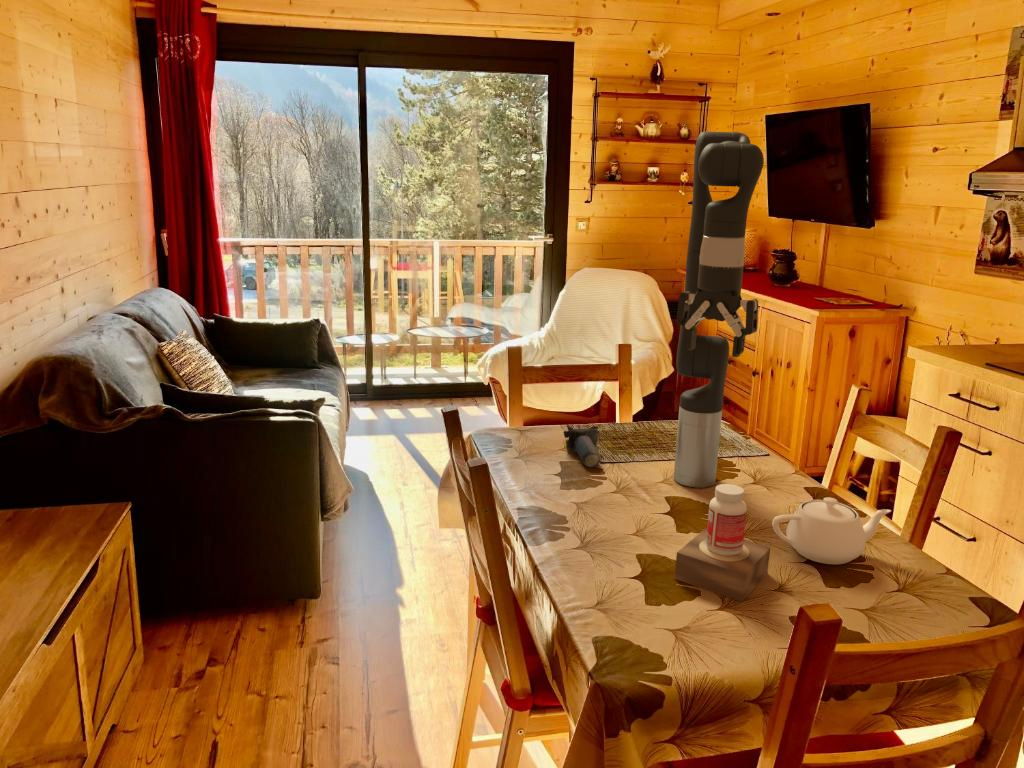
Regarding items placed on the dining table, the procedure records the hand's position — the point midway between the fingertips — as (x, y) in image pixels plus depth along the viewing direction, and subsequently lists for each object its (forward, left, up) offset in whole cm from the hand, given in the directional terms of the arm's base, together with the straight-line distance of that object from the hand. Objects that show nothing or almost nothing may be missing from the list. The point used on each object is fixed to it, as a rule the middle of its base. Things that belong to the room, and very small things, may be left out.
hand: (713, 352), depth 145 cm
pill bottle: (+12, +10, -31) cm, 35 cm away
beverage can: (-22, -38, -37) cm, 57 cm away
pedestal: (+12, +10, -36) cm, 39 cm away
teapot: (-9, +22, -36) cm, 43 cm away
